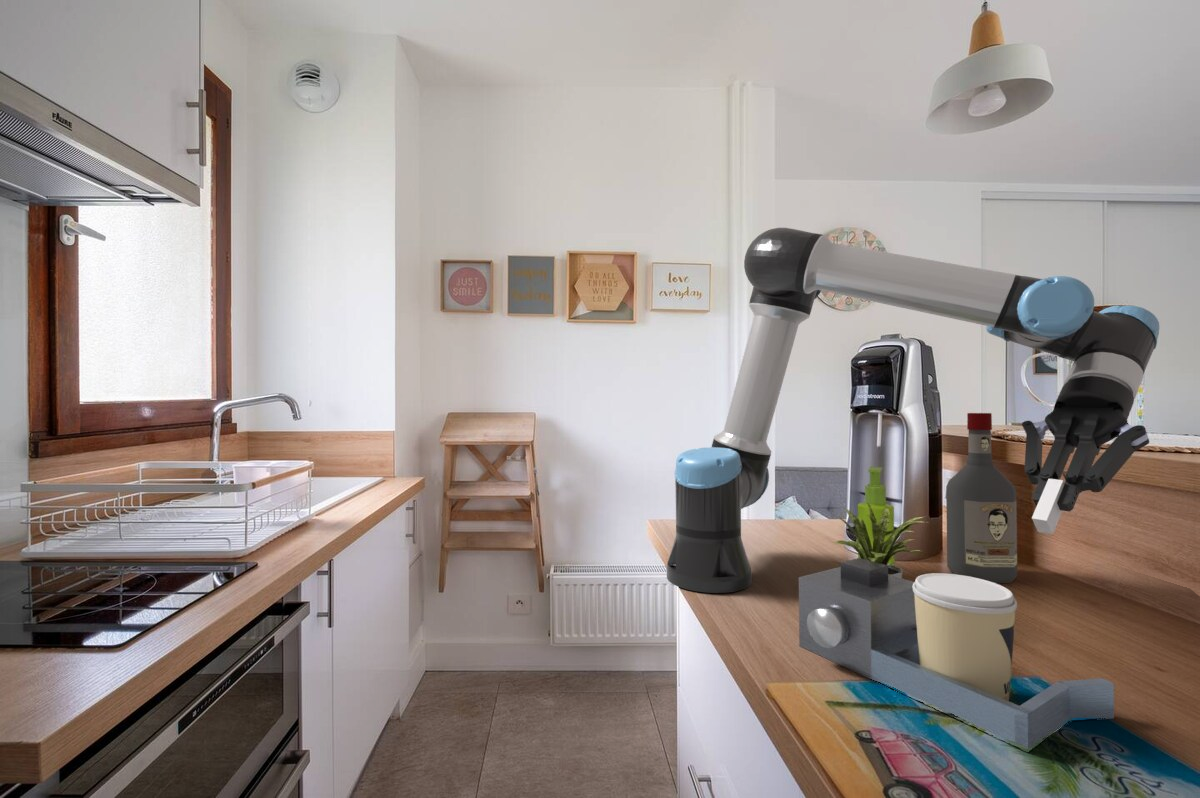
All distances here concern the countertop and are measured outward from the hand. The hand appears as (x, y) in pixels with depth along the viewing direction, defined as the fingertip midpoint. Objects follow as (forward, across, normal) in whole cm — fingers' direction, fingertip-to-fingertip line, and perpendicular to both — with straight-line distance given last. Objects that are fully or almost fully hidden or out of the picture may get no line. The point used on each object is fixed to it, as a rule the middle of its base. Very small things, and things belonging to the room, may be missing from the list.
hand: (1042, 526), depth 65 cm
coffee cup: (+24, +1, -1) cm, 24 cm away
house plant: (+13, +19, -12) cm, 26 cm away
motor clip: (+23, +5, -1) cm, 23 cm away
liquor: (-10, +20, -34) cm, 41 cm away
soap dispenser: (+2, +30, -22) cm, 37 cm away
